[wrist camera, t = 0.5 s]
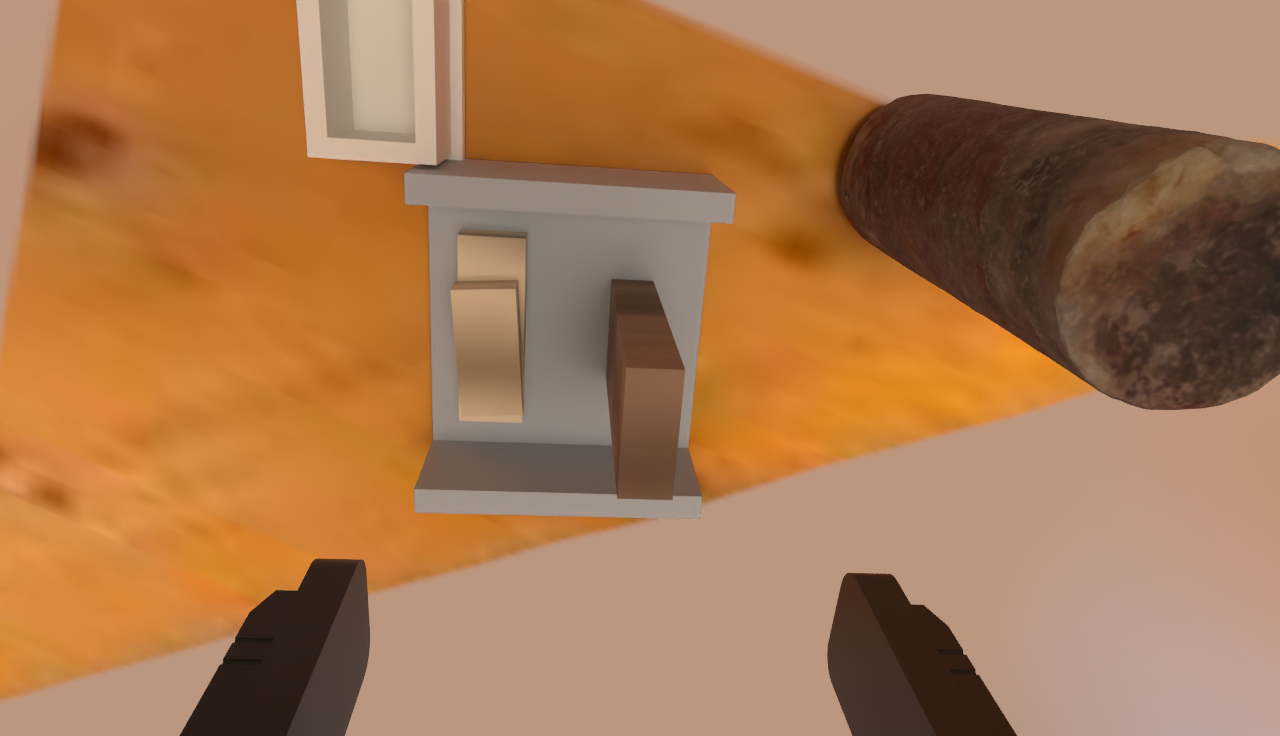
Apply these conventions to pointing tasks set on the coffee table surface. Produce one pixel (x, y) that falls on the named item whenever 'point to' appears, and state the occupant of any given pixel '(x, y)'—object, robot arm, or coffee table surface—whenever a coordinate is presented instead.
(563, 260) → the rack
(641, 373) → the slat
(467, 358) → the offcut short
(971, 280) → the brown log
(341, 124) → the holder
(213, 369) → the coffee table surface
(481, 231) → the block
